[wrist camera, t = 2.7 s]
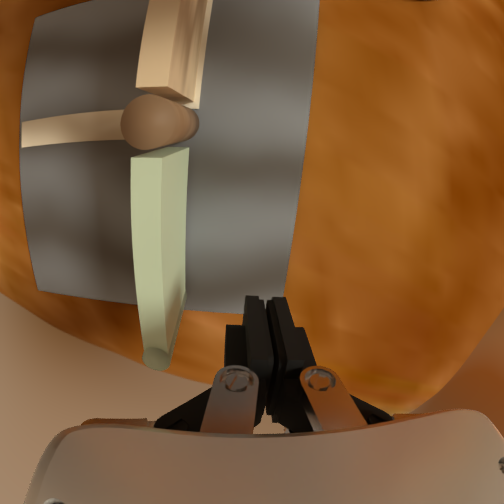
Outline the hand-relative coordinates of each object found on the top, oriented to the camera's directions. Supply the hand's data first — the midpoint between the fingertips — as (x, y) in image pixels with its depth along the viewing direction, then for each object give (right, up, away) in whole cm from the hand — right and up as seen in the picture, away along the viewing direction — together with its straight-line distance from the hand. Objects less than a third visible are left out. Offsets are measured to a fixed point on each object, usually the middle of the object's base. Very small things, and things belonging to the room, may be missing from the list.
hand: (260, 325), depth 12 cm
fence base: (-7, +10, +3) cm, 12 cm away
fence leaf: (-5, +4, +5) cm, 8 cm away
